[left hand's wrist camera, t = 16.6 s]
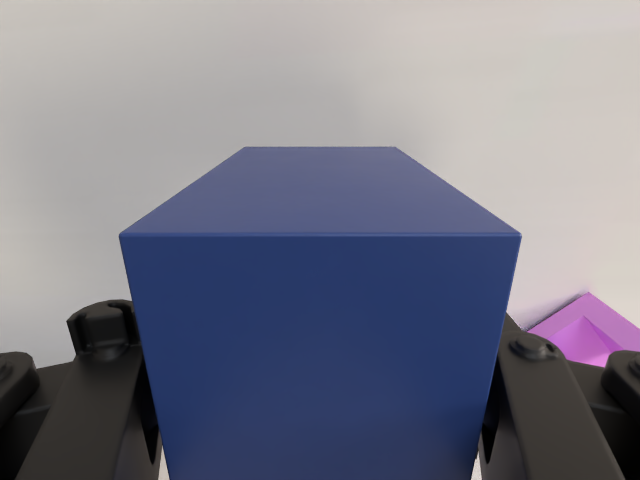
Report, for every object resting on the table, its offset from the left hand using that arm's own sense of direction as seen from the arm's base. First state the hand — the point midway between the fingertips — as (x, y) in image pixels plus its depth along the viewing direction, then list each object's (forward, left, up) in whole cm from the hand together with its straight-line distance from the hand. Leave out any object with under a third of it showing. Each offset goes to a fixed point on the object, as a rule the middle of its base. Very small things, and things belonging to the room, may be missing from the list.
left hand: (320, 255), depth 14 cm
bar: (+4, -6, -1) cm, 7 cm away
